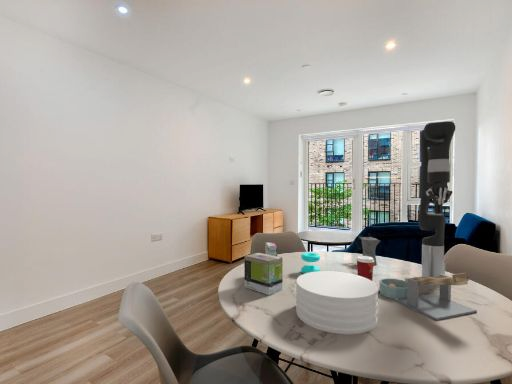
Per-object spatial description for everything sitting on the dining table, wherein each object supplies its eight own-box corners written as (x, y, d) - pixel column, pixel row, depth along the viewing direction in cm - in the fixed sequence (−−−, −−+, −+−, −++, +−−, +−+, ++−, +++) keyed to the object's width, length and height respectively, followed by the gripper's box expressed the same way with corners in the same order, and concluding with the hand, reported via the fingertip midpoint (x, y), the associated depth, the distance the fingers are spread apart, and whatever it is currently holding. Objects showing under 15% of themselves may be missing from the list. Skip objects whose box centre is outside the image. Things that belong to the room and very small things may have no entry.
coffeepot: (383, 264, 165) (383, 234, 165) (376, 267, 158) (376, 236, 158) (358, 259, 176) (358, 231, 176) (351, 262, 169) (351, 233, 169)
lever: (389, 284, 118) (387, 275, 119) (417, 280, 123) (415, 271, 124) (457, 286, 91) (454, 274, 92) (490, 281, 96) (486, 270, 97)
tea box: (283, 289, 123) (283, 256, 123) (268, 296, 116) (268, 261, 116) (258, 282, 134) (258, 251, 133) (243, 287, 126) (243, 255, 126)
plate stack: (292, 298, 114) (292, 270, 114) (361, 299, 114) (361, 271, 113) (301, 333, 86) (301, 297, 86) (392, 335, 86) (392, 298, 85)
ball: (396, 292, 120) (391, 287, 123) (398, 286, 119) (393, 282, 122) (391, 293, 119) (386, 288, 122) (393, 287, 118) (388, 282, 121)
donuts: (297, 253, 149) (310, 251, 155) (297, 272, 149) (310, 269, 155) (310, 257, 141) (324, 254, 147) (310, 277, 141) (324, 273, 147)
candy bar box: (277, 279, 138) (277, 246, 138) (267, 279, 137) (267, 246, 137) (274, 272, 149) (274, 242, 149) (264, 272, 148) (264, 242, 148)
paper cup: (375, 292, 121) (376, 260, 121) (357, 290, 122) (357, 259, 122) (372, 285, 128) (372, 255, 128) (354, 284, 130) (354, 255, 130)
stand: (396, 301, 111) (396, 275, 111) (433, 295, 117) (434, 270, 117) (436, 320, 95) (436, 290, 95) (476, 312, 101) (477, 284, 101)
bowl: (395, 287, 127) (395, 277, 127) (418, 297, 115) (418, 286, 115) (373, 290, 123) (373, 280, 123) (395, 301, 111) (395, 289, 111)
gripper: (441, 172, 117) (441, 212, 118) (418, 171, 113) (417, 213, 113) (459, 170, 110) (459, 214, 110) (435, 170, 106) (434, 215, 106)
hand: (438, 213), depth 112 cm, fingers closed
